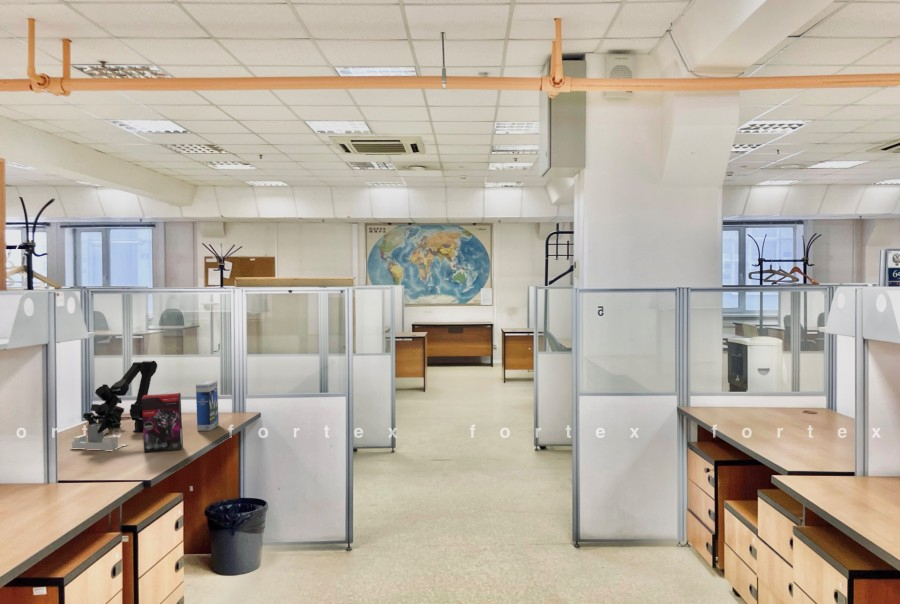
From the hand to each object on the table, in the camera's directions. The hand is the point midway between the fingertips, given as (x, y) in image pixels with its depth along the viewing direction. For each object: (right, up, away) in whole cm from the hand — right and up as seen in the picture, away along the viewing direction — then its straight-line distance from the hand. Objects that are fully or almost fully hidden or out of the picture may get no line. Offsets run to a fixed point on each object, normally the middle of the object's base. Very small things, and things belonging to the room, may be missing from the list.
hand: (93, 432), depth 307 cm
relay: (-12, -7, +27) cm, 30 cm away
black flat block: (-13, -6, +40) cm, 43 cm away
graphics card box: (+38, -8, -6) cm, 39 cm away
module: (+1, -7, +2) cm, 7 cm away
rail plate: (+2, -8, +1) cm, 8 cm away
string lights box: (+43, -6, +37) cm, 57 cm away
